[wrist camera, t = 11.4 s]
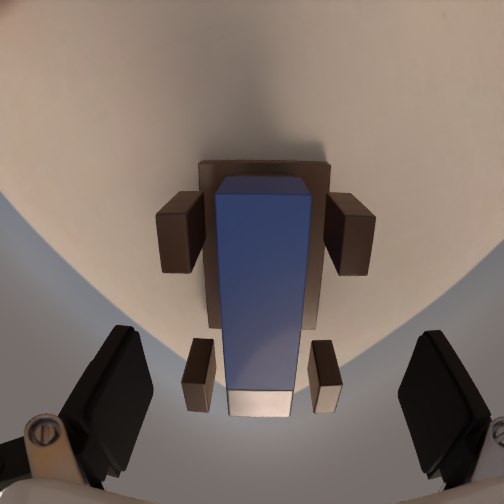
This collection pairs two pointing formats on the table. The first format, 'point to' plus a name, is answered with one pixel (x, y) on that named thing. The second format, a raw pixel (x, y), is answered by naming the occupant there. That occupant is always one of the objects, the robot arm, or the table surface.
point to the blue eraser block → (261, 288)
